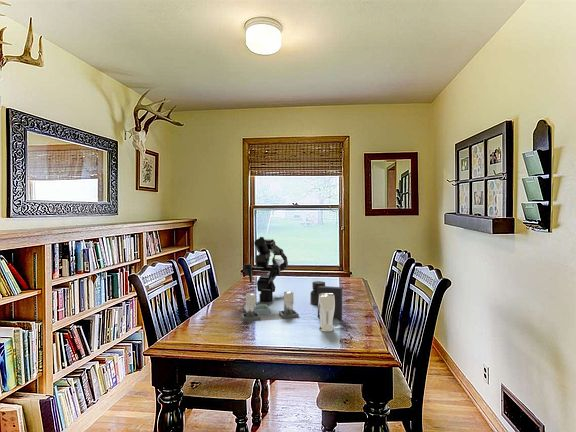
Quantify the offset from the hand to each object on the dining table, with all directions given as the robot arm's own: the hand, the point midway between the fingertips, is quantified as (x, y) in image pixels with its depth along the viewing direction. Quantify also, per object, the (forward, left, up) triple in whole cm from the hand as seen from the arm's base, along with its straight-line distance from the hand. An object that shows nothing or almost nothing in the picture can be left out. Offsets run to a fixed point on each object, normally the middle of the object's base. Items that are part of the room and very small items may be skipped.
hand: (259, 282), depth 208 cm
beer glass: (-22, +41, -14) cm, 48 cm away
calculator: (-29, +26, -14) cm, 41 cm away
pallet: (-2, +19, -14) cm, 23 cm away
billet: (-11, +19, -13) cm, 25 cm away
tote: (+2, +7, -14) cm, 15 cm away
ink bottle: (-33, -2, -14) cm, 35 cm away
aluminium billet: (+7, +18, -13) cm, 24 cm away
